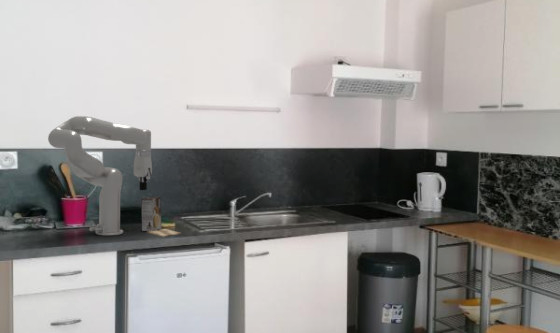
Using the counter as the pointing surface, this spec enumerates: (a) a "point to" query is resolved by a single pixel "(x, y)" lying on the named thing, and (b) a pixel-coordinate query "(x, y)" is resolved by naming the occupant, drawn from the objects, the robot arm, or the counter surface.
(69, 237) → the counter surface
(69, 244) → the counter surface
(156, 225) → the coffee box
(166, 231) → the open book
